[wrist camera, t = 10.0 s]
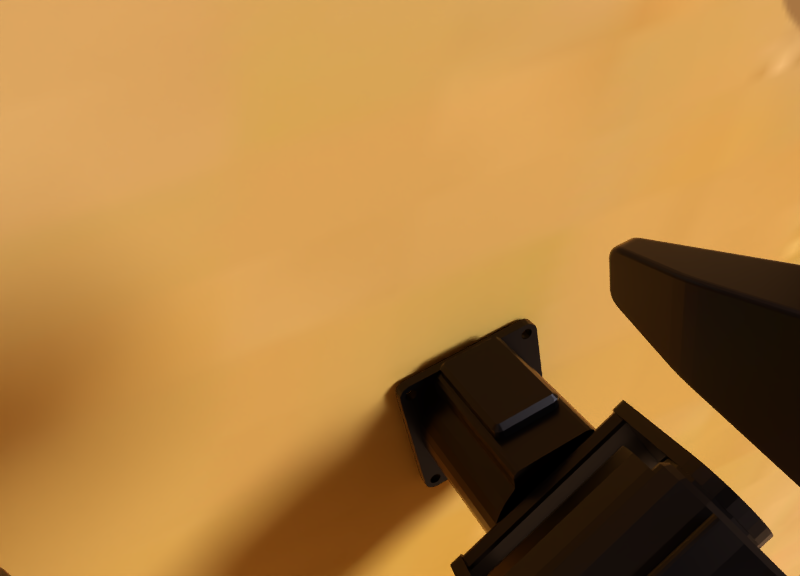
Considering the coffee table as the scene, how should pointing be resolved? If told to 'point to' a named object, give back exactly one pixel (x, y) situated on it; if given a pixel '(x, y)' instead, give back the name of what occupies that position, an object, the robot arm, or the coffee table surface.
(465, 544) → the coffee table surface
